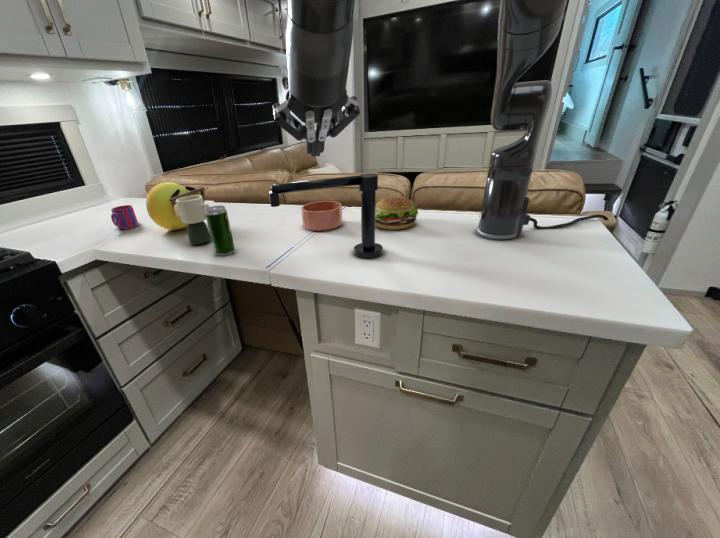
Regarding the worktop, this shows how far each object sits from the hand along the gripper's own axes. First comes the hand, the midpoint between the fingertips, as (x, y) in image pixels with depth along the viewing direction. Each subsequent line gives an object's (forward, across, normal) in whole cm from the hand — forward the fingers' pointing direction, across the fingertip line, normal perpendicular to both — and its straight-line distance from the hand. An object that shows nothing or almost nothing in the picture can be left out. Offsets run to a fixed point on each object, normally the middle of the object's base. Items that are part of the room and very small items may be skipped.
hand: (315, 152), depth 55 cm
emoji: (+56, -42, +20) cm, 73 cm away
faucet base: (+28, +13, -8) cm, 32 cm away
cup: (+62, -63, +26) cm, 92 cm away
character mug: (+44, -32, +8) cm, 55 cm away
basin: (+46, +5, +10) cm, 47 cm away
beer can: (+37, -24, 0) cm, 44 cm away
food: (+42, +25, +5) cm, 49 cm away
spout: (+18, +3, +2) cm, 18 cm away
